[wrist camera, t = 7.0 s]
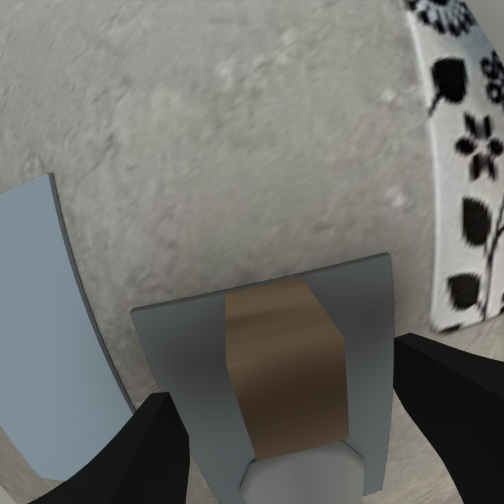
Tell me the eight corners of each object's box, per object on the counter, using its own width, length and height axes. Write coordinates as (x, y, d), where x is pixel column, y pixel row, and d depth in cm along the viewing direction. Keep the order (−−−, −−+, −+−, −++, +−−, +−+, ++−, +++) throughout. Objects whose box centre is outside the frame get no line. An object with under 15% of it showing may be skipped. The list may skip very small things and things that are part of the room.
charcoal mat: (380, 485, 17) (405, 538, 12) (233, 521, 17) (237, 579, 12) (386, 252, 13) (464, 295, 8) (132, 308, 13) (86, 382, 8)
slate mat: (176, 480, 16) (175, 485, 15) (41, 473, 15) (40, 477, 15) (52, 173, 11) (48, 173, 11) (-76, 236, 11) (-80, 237, 10)
